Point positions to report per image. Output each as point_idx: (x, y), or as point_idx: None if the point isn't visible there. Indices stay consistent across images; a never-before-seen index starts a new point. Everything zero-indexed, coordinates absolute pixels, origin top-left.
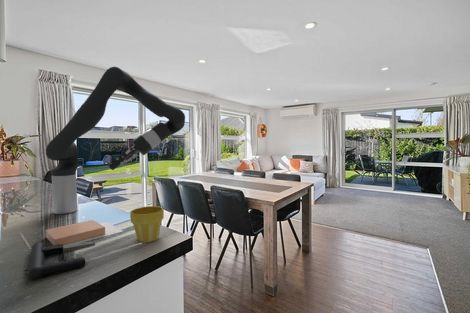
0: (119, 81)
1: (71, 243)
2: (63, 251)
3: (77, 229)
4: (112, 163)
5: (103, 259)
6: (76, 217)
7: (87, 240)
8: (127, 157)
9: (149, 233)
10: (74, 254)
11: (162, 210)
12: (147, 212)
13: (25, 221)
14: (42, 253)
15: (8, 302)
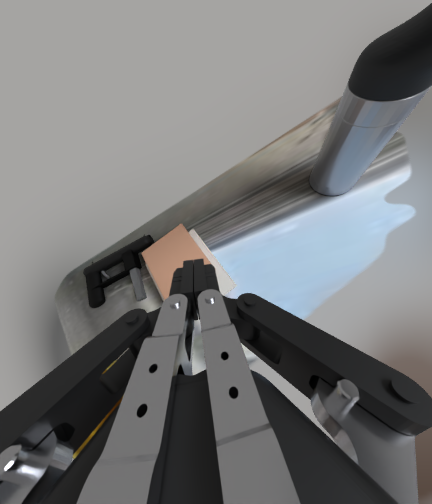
0: None
1: None
2: (112, 277)
3: (168, 263)
4: (182, 274)
5: (101, 323)
6: (285, 218)
7: (156, 285)
8: (110, 408)
9: None
10: (128, 284)
11: (73, 457)
12: None
13: (270, 162)
14: (117, 258)
15: (70, 273)
